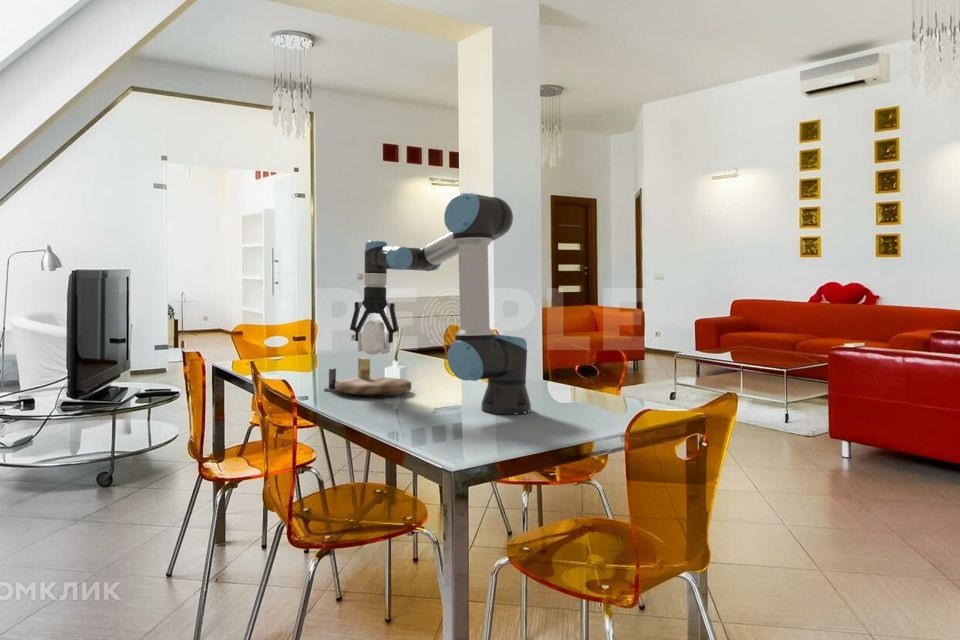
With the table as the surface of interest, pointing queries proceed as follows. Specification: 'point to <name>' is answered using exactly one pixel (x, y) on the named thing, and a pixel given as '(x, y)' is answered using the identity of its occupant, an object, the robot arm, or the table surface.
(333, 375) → the base
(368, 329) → the figurine
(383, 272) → the robot arm
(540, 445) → the table surface
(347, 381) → the turntable
